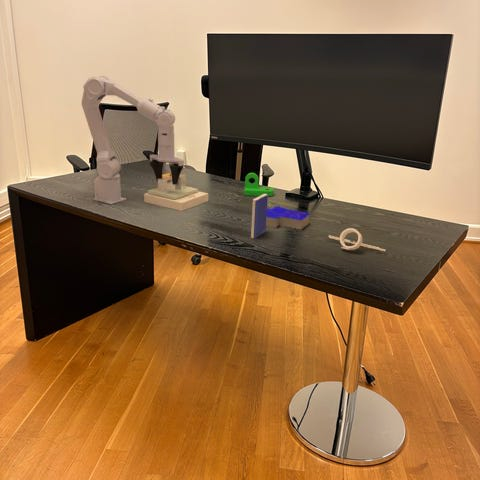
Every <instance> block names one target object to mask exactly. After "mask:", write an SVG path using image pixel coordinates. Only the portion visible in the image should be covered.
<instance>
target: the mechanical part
mask: <svg viewBox="0 0 480 480" xmlns="http://www.w3.org/2000/svg"><path fill="white" fill-rule="evenodd" d="M250 179H254V182H250ZM259 179H260V178H259V176H258V174H256V173H255V172H249V173H248V174H247V175H246V176H245V179H244V180H245V181H244V191H243V195H244V196H253V197H254V196H255V197H259V196H261V195H263V194H268V197H273V196H274V194H275V193H274V192H275V188H274V187H261V186H259V181H260V180H259Z"/></svg>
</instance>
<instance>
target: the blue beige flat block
mask: <svg viewBox="0 0 480 480" xmlns="http://www.w3.org/2000/svg"><path fill="white" fill-rule="evenodd" d="M309 224H310V213H308V212H305V211H301V210H300V211H299V210H294V209H288V208H284V207H282V206H279V205H277V206H273V207H272V208H269V207H267V217H266V227H268V228H269V227H270V228H274V227H275V229H277V228H278V227H284V226H286V227H285V228H289V227H291V228H290V229H294V228H296V230H299V229H300V231H301V230H302V229H304V228H305V227H306V226H308V225H309ZM279 225H280V226H279ZM277 226H278V227H277Z"/></svg>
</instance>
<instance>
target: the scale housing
mask: <svg viewBox="0 0 480 480" xmlns="http://www.w3.org/2000/svg"><path fill="white" fill-rule="evenodd" d="M143 202H144V203H146V204H147V203H148V204H152V205H154V206H155V205H156V206H158V207H164V208H168V209H172V210H176V211H180V212H183V211H186V210H188V209H191V208H194V207H196V206H199V205H202V204H204V203H207V202H209V193H208V192H202V191H199V190H198V192H195V193H192V194H189V195H186V196H183V197H181V198H178V199H171V198H167V197H162V196H158V195H154V194H149V193H148V192H146V193H144V194H143Z"/></svg>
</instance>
